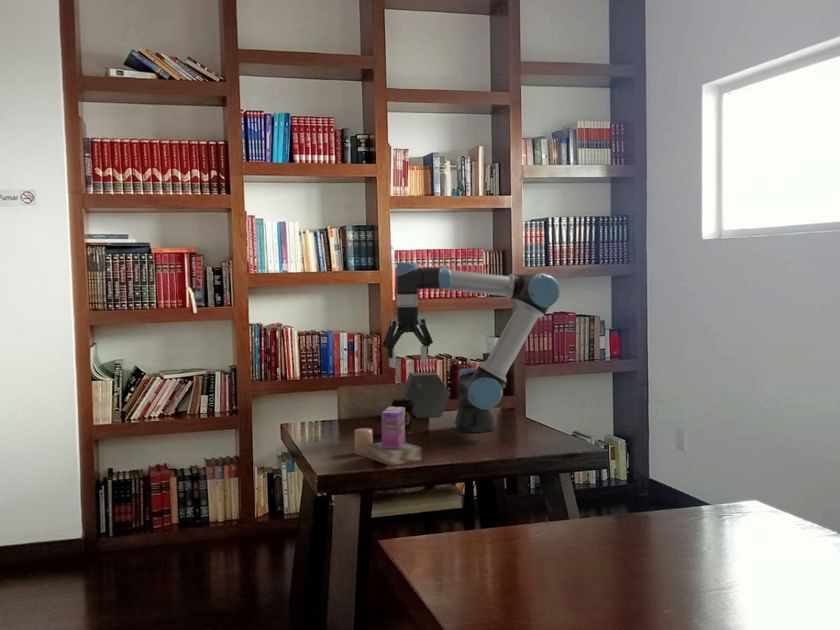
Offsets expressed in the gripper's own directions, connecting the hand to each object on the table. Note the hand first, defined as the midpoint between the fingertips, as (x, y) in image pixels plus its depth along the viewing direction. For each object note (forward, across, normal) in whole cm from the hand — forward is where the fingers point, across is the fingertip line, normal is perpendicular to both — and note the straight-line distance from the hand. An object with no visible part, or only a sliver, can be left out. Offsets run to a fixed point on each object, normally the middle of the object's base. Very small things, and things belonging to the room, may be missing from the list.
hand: (408, 365), depth 294 cm
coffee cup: (+27, -4, -10) cm, 29 cm away
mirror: (+27, +20, +20) cm, 39 cm away
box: (+23, +20, +20) cm, 36 cm away
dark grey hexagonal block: (+27, -31, -33) cm, 53 cm away
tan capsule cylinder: (+27, +24, +8) cm, 37 cm away
